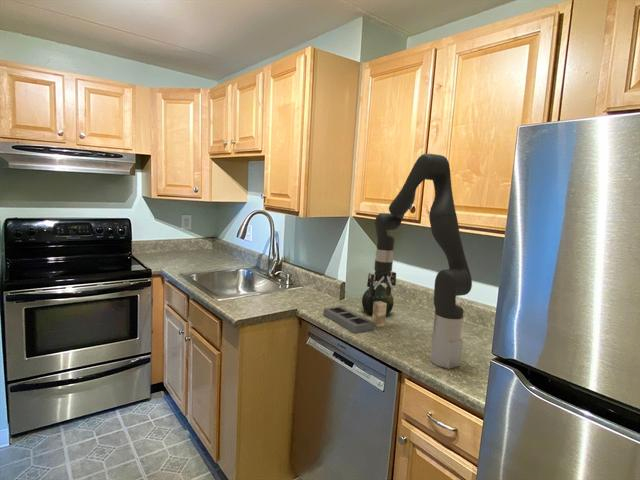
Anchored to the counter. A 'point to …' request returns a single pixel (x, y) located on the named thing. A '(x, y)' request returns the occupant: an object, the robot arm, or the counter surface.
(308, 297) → the counter surface
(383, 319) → the square peg
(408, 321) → the counter surface
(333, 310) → the gray slotted tray
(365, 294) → the squash
